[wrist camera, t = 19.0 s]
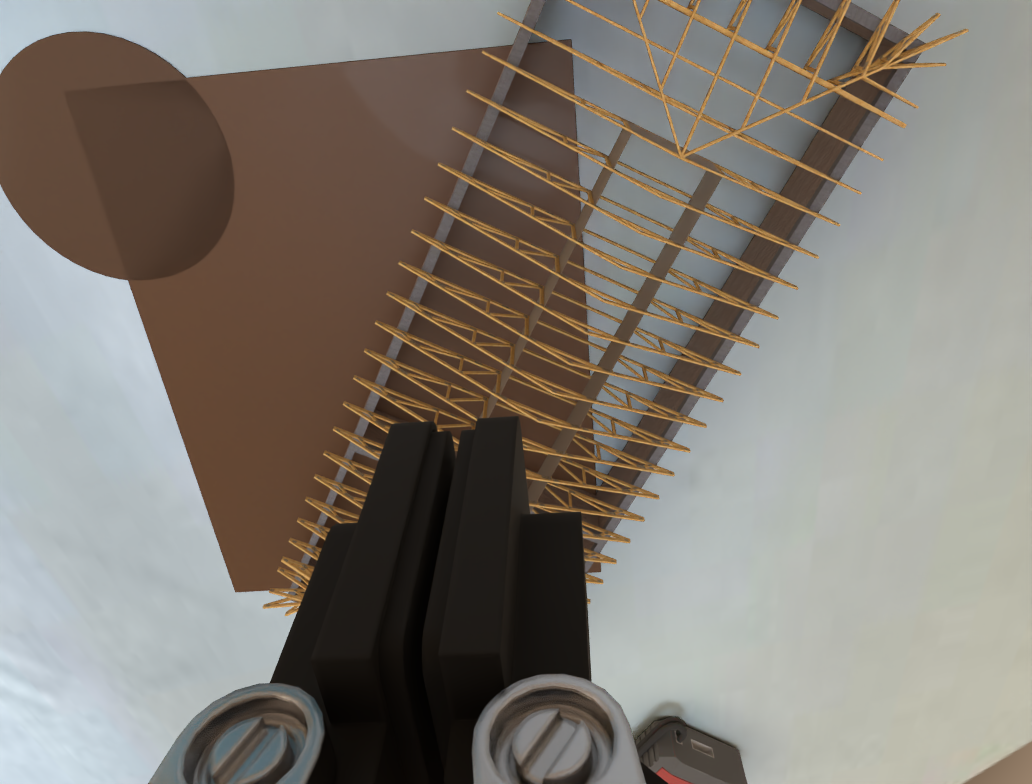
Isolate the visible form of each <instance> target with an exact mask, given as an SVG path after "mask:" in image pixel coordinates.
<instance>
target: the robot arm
mask: <svg viewBox="0 0 1032 784" xmlns="http://www.w3.org/2000/svg"><path fill="white" fill-rule="evenodd" d="M148 784H668V783H667V782H666V781H665V780H663V779H662V778H661V777H660V776H658V775H657V774H656V773H655V772H653V771H652V770H651V769H650V768H648V767H647V766H646V765H644V764H643V763H642V762H641V761H640V760H639V757H638V753H637V749H636V746H635V742H634V738H633V735H632V731H631V728H630V724H629V722H628V720H627V718H626V716H625V714H624V712H623V710H622V708H621V706H620V704H619V703H618V702H617V701H616V700H615V699H614V698H613V697H612V696H611V695H610V694H609V693H608V692H607V691H606V690H605V689H603V688H601V687H599V686H598V685H596V684H594V683H592V682H591V664H590V645H589V626H588V608H587V591H586V575H585V559H584V544H583V529H582V516H581V512H562V513H542V514H530V508H529V498H528V489H527V480H526V470H525V461H524V452H523V442H522V433H521V425H520V419H519V416H509V417H492V418H478V419H477V421H476V426H475V429H473V430H462V431H461V435H460V440H459V446H458V451H457V456H456V455H455V449H454V442H453V437H452V434H451V432H450V431H439V432H438V429H437V426H436V423H435V422H434V421H425V422H409V423H394V424H392V425H391V427H390V429H389V432H388V434H387V437H386V440H385V443H384V446H383V449H382V452H381V455H380V458H379V461H378V464H377V467H376V470H375V472H374V475H373V478H372V481H371V484H370V487H369V490H368V493H367V496H366V499H365V502H364V505H363V508H362V511H361V513H360V516H359V519H358V522H357V523H340V524H335V525H334V526H332V527H331V529H330V531H329V532H328V534H327V536H326V539H325V542H324V544H323V547H322V549H321V552H320V555H319V557H318V560H317V562H316V565H315V567H314V570H313V573H312V575H311V578H310V580H309V583H308V586H307V588H306V591H305V593H304V596H303V599H302V601H301V604H300V606H299V609H298V611H297V614H296V617H295V619H294V622H293V624H292V627H291V630H290V632H289V635H288V637H287V640H286V642H285V645H284V648H283V650H282V653H281V655H280V658H279V661H278V663H277V666H276V668H275V671H274V674H273V676H272V679H271V681H270V683H265V684H256V685H253V686H249V687H245V688H242V689H238V690H235V691H233V692H232V693H230V694H228V695H226V696H224V697H222V698H220V699H218V700H216V701H214V702H213V703H211V704H210V705H209V706H208V707H206V708H205V709H204V710H203V711H202V712H200V713H199V714H198V715H197V716H195V717H194V718H193V719H192V720H191V722H190V723H189V724H188V725H187V726H186V728H185V729H184V730H183V731H182V733H181V734H180V735H179V736H178V738H177V739H176V741H175V742H174V744H173V745H172V747H171V748H170V750H169V752H168V753H167V755H166V756H165V758H164V759H163V761H162V763H161V764H160V766H159V767H158V769H157V770H156V772H155V773H154V775H153V777H152V778H151V780H150V781H149V783H148Z"/></svg>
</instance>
